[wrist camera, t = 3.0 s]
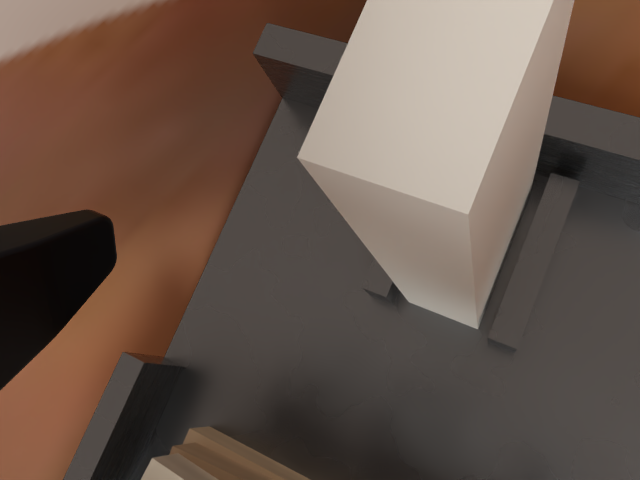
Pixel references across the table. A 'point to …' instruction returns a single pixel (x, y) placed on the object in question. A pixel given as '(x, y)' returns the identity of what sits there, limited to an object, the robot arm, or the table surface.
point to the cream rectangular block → (439, 138)
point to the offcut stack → (215, 460)
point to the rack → (400, 325)
